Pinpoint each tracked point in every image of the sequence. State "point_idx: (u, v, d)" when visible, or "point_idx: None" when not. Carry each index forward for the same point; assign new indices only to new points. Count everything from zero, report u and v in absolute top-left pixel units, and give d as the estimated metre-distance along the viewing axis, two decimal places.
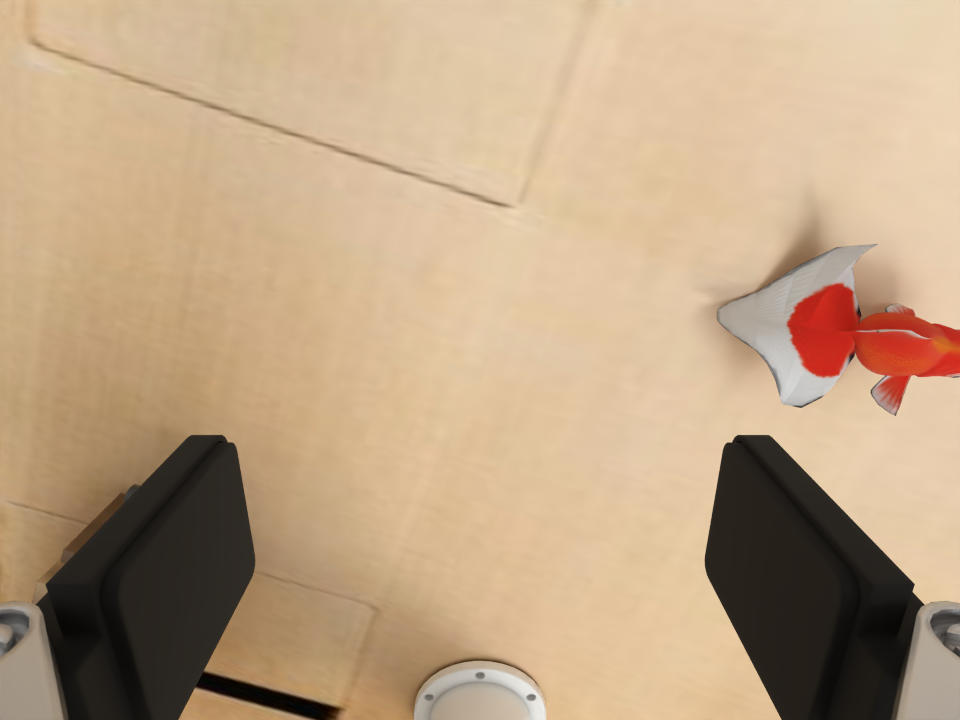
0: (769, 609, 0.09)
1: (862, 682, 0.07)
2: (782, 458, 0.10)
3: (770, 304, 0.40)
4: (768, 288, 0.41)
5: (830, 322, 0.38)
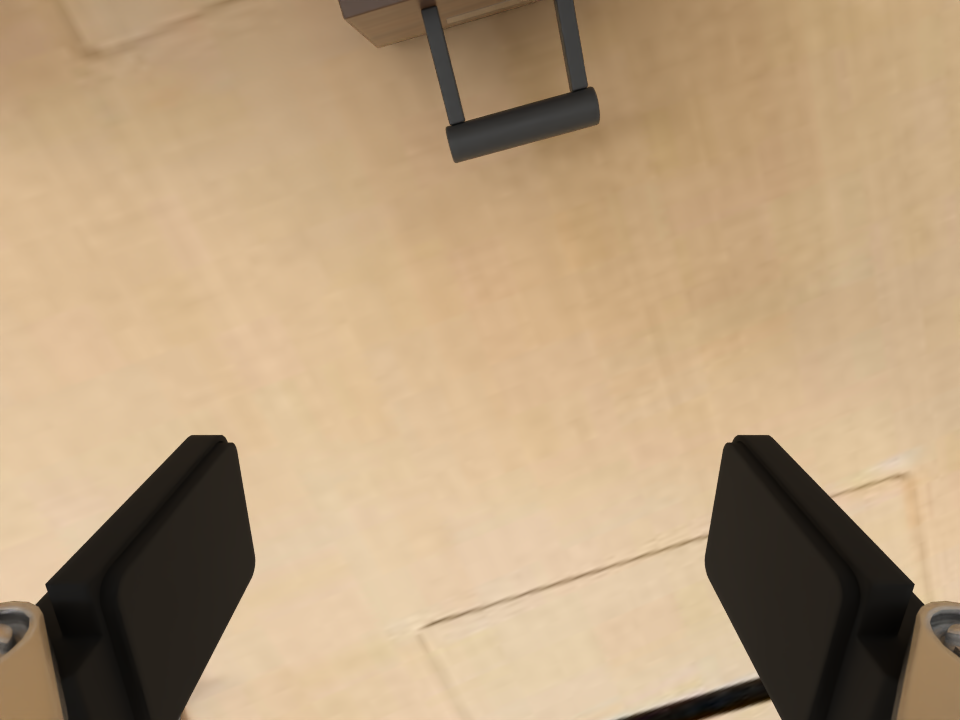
0: (769, 609, 0.09)
1: (861, 682, 0.07)
2: (782, 458, 0.10)
3: None
4: None
5: None
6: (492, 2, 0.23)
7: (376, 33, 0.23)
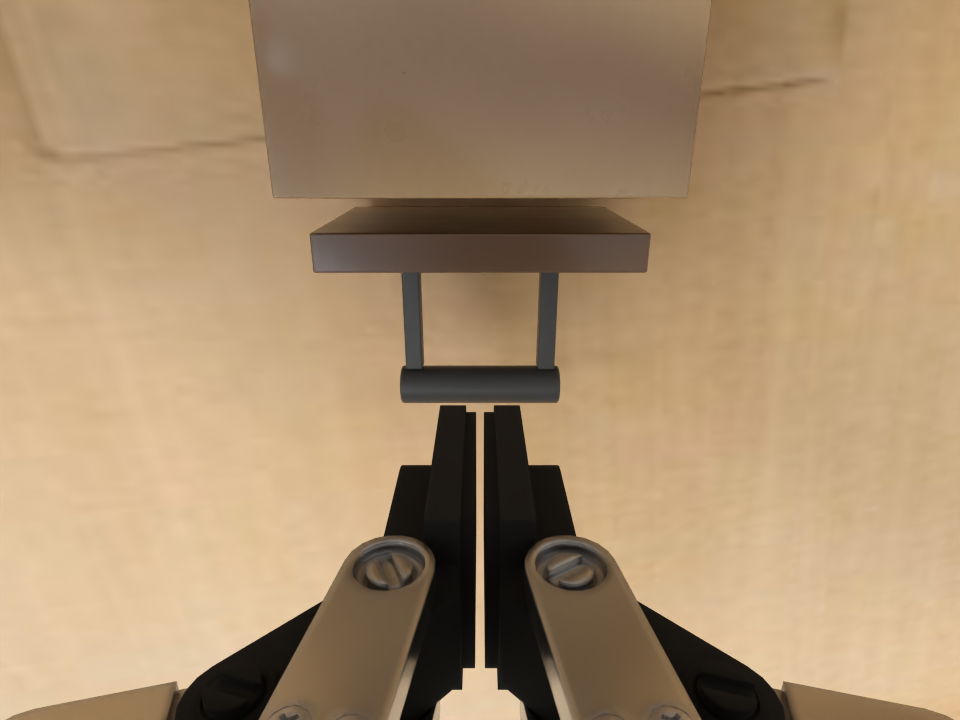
0: None
1: (499, 605, 0.08)
2: (513, 423, 0.11)
3: None
4: None
5: None
6: None
7: None
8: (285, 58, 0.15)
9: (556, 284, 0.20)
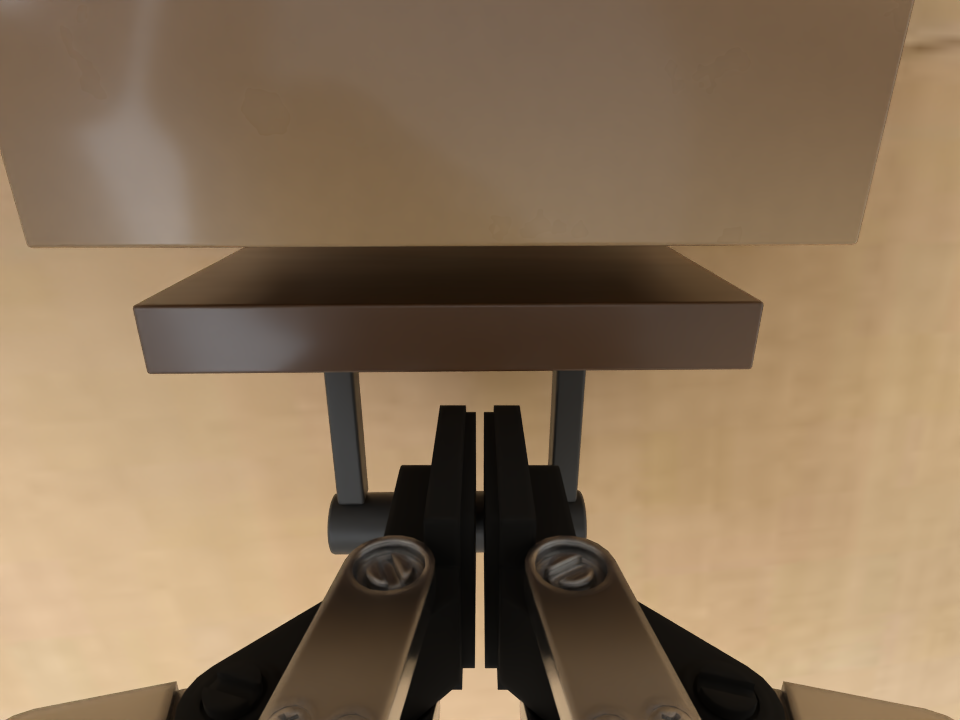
0: None
1: (499, 605, 0.08)
2: (513, 423, 0.11)
3: None
4: None
5: None
6: None
7: None
8: None
9: (583, 373, 0.12)
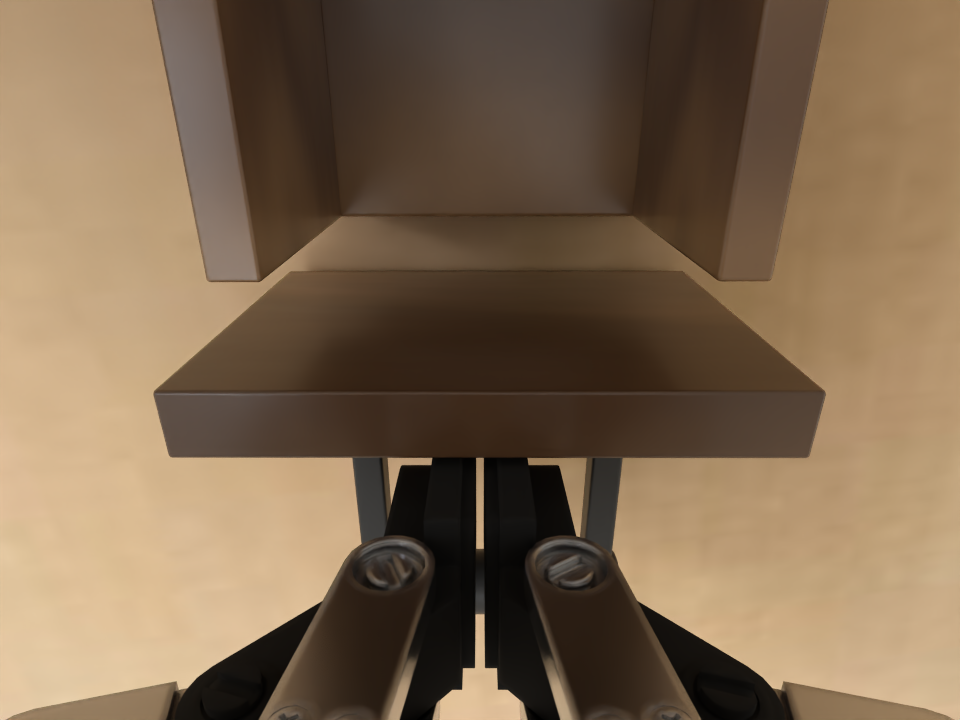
0: None
1: (499, 605, 0.08)
2: None
3: None
4: None
5: None
6: None
7: None
8: None
9: None
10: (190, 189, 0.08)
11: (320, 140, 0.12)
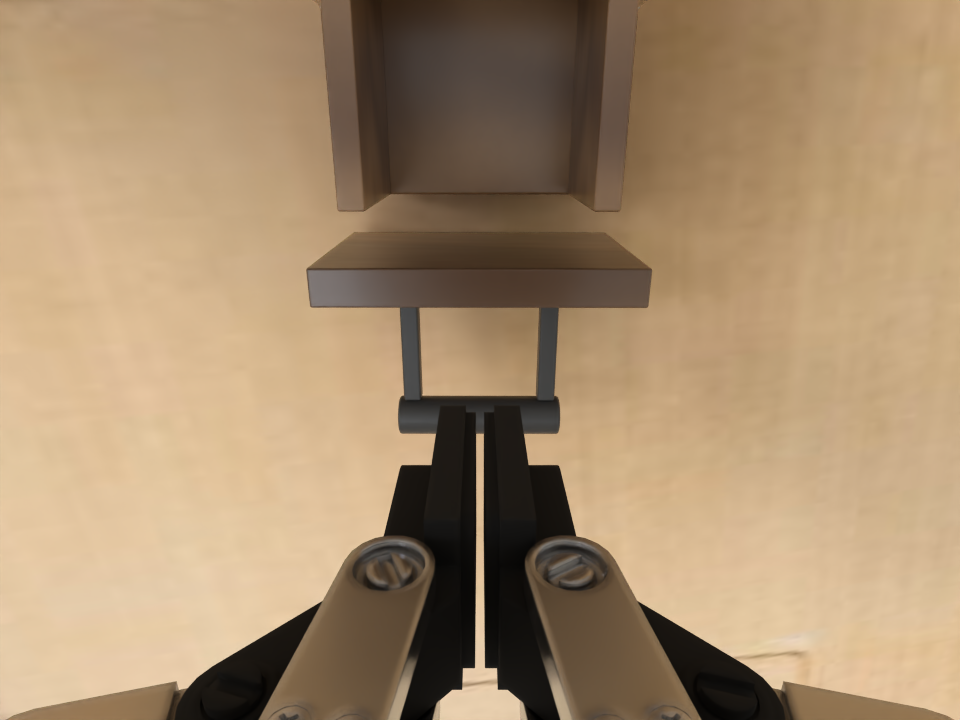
0: None
1: (500, 605, 0.08)
2: (513, 423, 0.11)
3: None
4: None
5: None
6: None
7: None
8: None
9: (556, 316, 0.19)
10: (334, 163, 0.16)
11: (383, 146, 0.20)
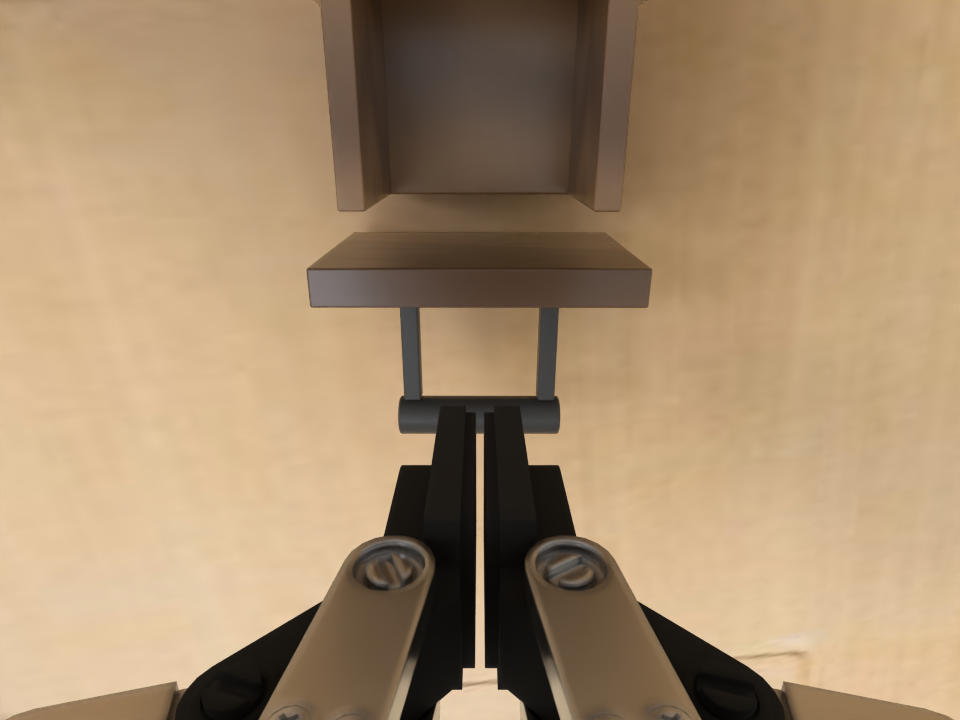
0: None
1: (500, 605, 0.08)
2: (513, 423, 0.11)
3: None
4: None
5: None
6: None
7: None
8: None
9: (556, 316, 0.19)
10: (335, 163, 0.16)
11: (383, 146, 0.20)
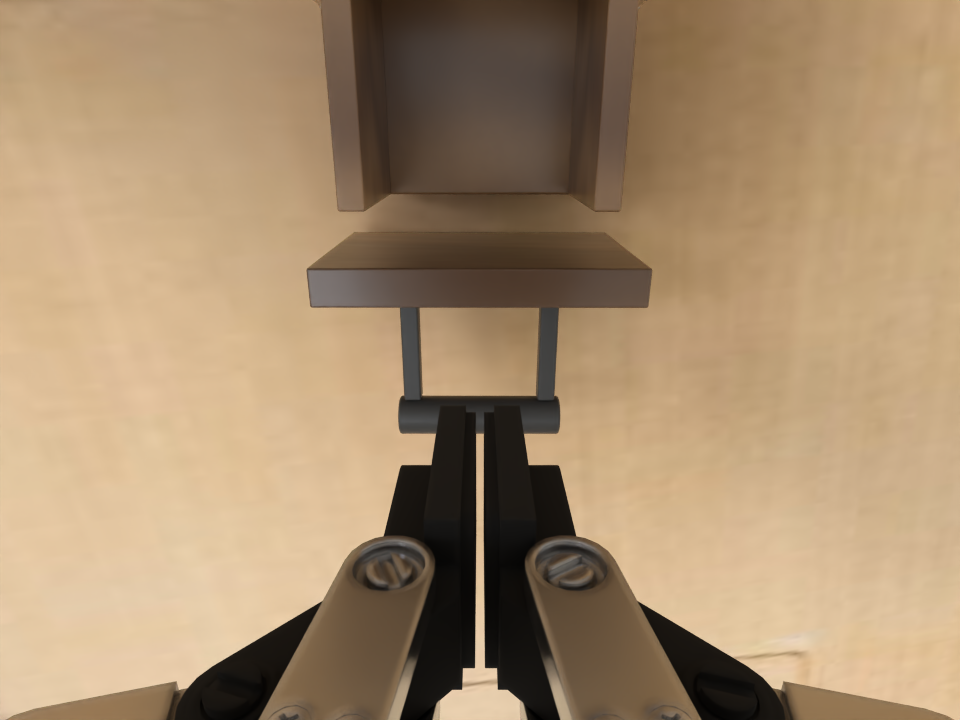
0: None
1: (500, 605, 0.08)
2: (513, 423, 0.11)
3: None
4: None
5: None
6: None
7: None
8: None
9: (556, 316, 0.19)
10: (335, 163, 0.16)
11: (383, 146, 0.20)
